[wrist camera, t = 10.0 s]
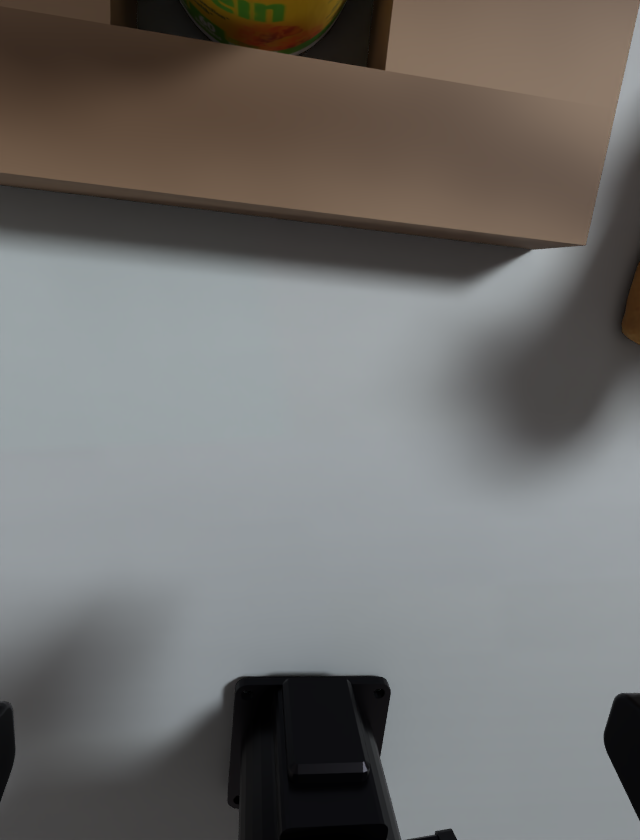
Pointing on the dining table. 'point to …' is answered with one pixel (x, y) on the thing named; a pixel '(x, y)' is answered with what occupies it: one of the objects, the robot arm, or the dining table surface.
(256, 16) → the supplement bottle
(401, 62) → the socket board
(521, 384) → the dining table surface
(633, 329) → the stuffed squirrel
